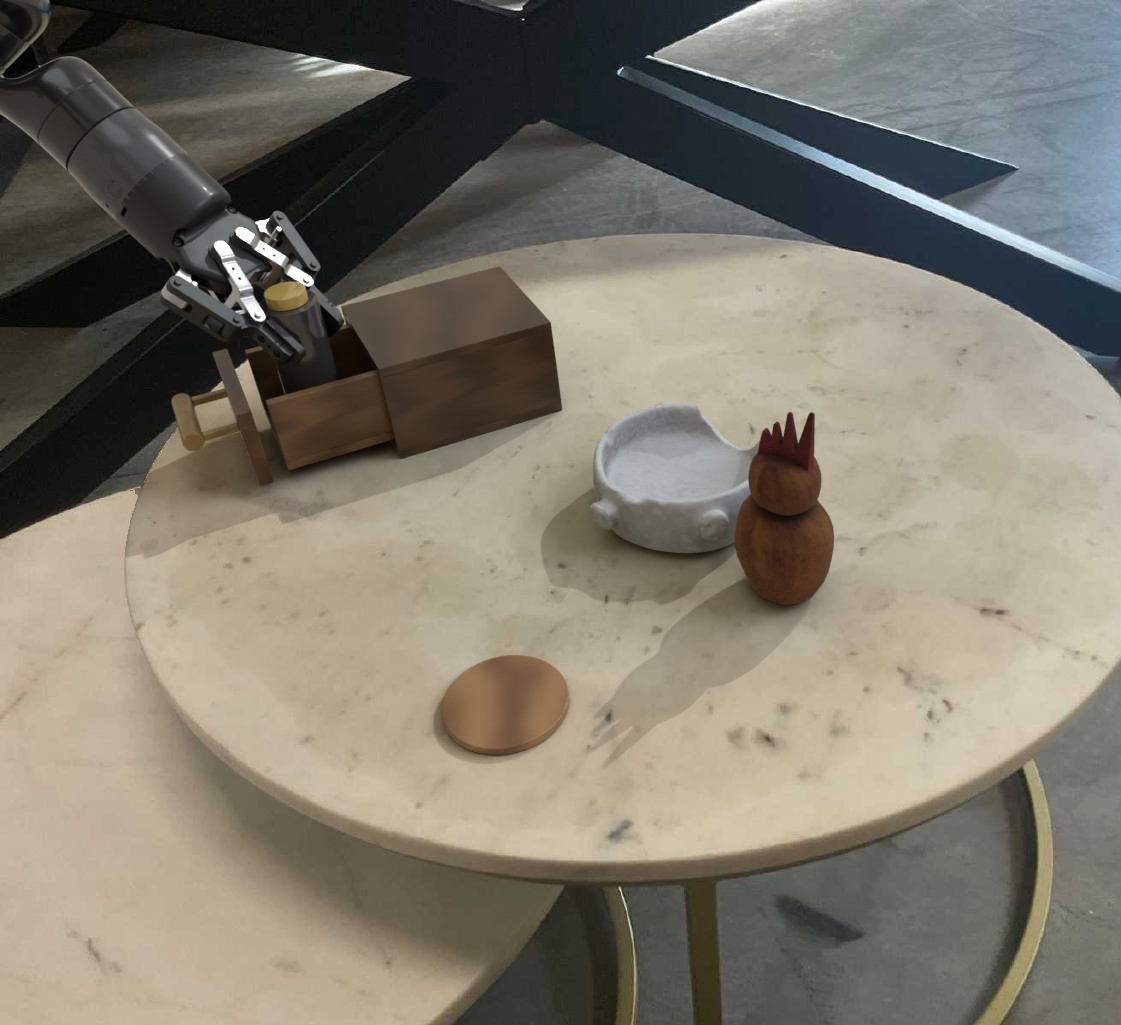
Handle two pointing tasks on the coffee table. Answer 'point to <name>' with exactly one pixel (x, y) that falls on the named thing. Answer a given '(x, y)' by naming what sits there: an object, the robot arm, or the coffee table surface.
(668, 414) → the dish
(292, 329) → the cylinder
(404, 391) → the cabinet
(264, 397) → the drawer
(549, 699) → the coaster
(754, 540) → the wooden figurine
